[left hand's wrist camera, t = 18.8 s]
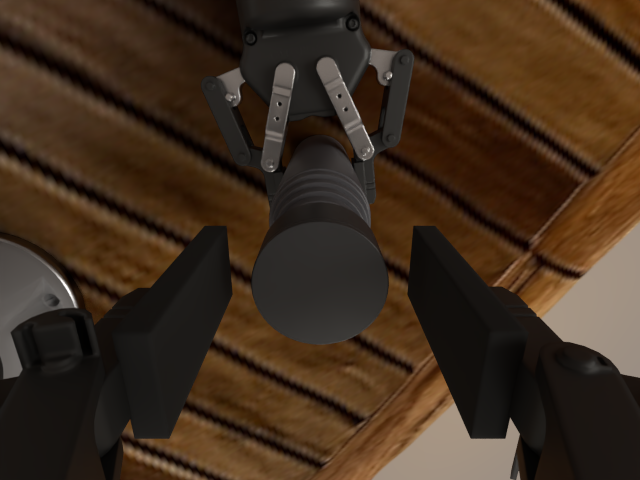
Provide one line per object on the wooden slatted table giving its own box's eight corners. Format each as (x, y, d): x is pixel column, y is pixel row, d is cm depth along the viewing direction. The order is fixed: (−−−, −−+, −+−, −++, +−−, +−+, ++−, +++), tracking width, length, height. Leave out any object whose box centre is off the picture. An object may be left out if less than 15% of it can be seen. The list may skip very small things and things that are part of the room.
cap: (291, 324, 15) (286, 361, 13) (241, 229, 14) (226, 254, 12) (394, 285, 15) (407, 317, 13) (352, 182, 13) (358, 198, 11)
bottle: (359, 156, 34) (425, 261, 12) (326, 201, 35) (336, 363, 14) (312, 122, 33) (299, 174, 12) (281, 170, 34) (217, 294, 13)
